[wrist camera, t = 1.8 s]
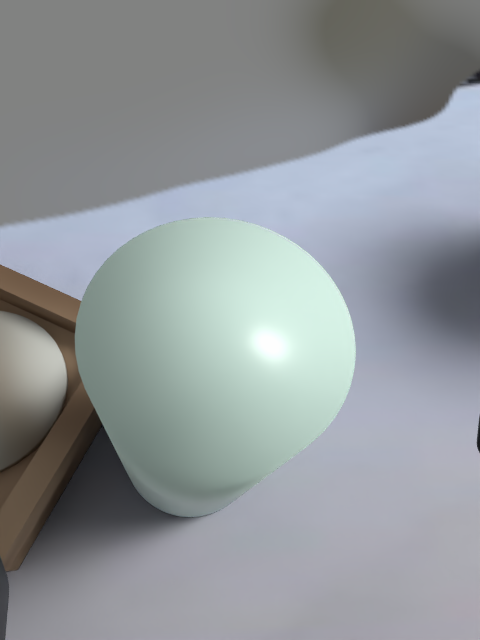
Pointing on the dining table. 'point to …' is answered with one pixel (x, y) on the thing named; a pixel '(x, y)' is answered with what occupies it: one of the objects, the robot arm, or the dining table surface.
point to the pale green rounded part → (212, 358)
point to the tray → (37, 408)
